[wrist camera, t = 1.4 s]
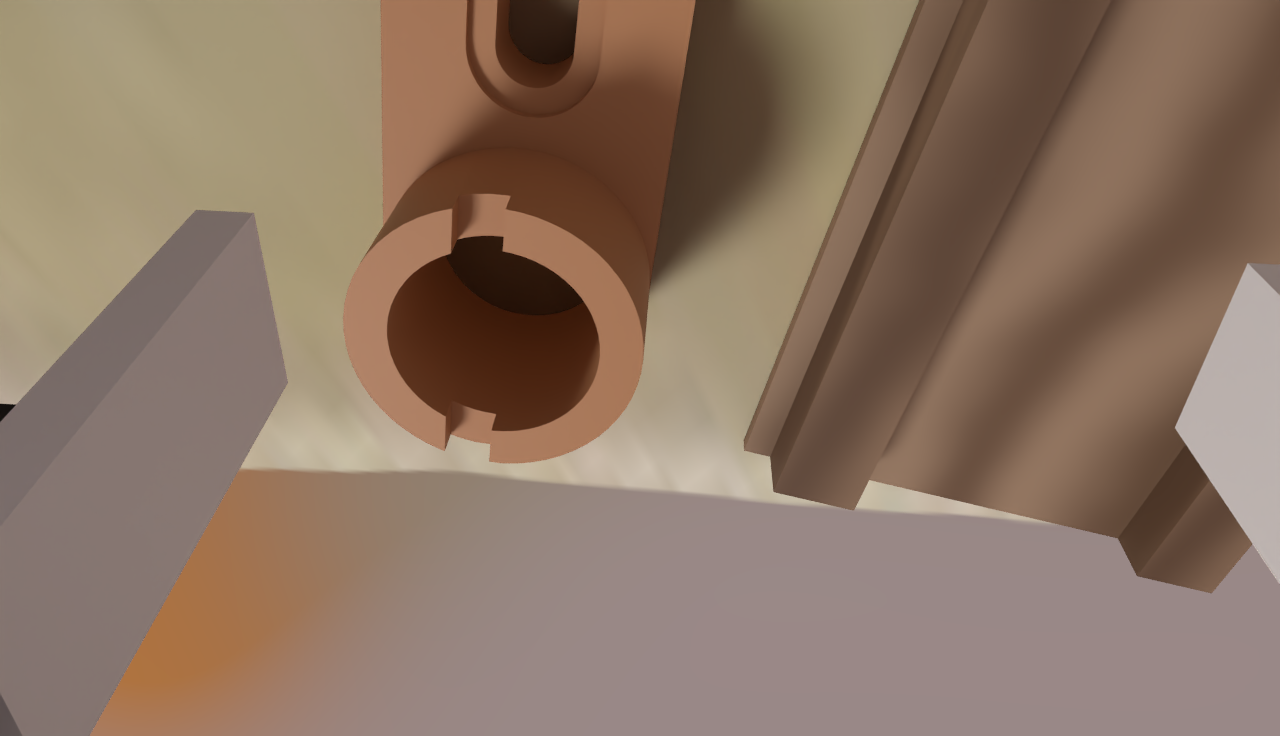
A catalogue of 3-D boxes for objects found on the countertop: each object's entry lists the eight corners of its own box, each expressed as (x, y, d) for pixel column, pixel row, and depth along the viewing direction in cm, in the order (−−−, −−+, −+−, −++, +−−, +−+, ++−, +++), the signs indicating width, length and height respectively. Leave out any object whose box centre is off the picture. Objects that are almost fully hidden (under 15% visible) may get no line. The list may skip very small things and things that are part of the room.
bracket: (636, 355, 35) (623, 479, 30) (405, 323, 35) (348, 442, 29) (727, -222, 26) (735, -205, 20) (407, -274, 25) (320, -271, 19)
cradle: (743, 440, 37) (746, 485, 35) (1007, -221, 25) (1036, -214, 23) (1206, 549, 39) (1236, 599, 37) (1657, -18, 27) (1742, 5, 25)
